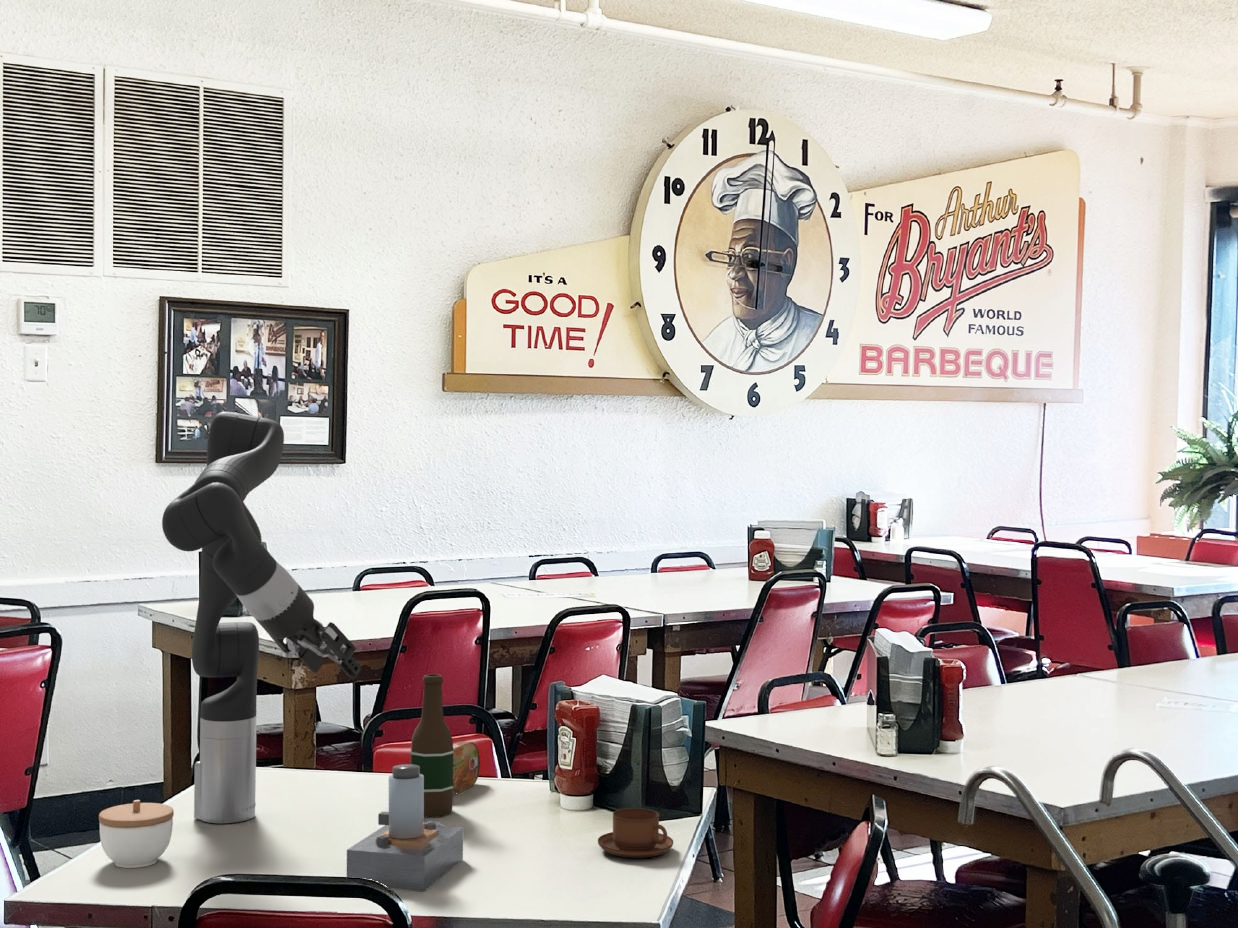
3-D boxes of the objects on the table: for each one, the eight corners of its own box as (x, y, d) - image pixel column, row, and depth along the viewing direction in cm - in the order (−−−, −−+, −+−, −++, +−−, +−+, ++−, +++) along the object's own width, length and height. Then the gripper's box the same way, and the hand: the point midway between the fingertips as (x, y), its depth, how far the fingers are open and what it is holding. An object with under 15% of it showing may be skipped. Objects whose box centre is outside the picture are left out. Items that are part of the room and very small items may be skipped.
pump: (373, 836, 204) (373, 769, 204) (386, 828, 209) (386, 762, 209) (416, 839, 203) (416, 771, 203) (428, 830, 208) (428, 764, 208)
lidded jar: (181, 866, 207) (181, 803, 207) (106, 876, 201) (107, 812, 201) (163, 848, 216) (163, 788, 216) (91, 858, 210) (92, 797, 210)
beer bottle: (445, 819, 235) (447, 679, 235) (402, 816, 237) (404, 677, 237) (459, 808, 243) (461, 672, 243) (417, 805, 245) (419, 670, 244)
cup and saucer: (682, 846, 222) (683, 808, 222) (659, 867, 210) (660, 826, 210) (612, 838, 226) (613, 801, 226) (586, 858, 214) (587, 818, 214)
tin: (444, 800, 249) (444, 753, 249) (428, 798, 250) (429, 752, 250) (481, 782, 263) (482, 738, 263) (466, 780, 264) (467, 737, 264)
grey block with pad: (346, 883, 199) (346, 841, 199) (403, 843, 220) (404, 805, 220) (424, 891, 197) (424, 847, 197) (474, 850, 217) (475, 810, 217)
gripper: (322, 581, 190) (384, 655, 199) (258, 574, 199) (320, 646, 208) (290, 623, 186) (355, 697, 195) (226, 614, 194) (291, 685, 203)
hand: (337, 670), depth 201 cm, fingers open, 8 cm apart
